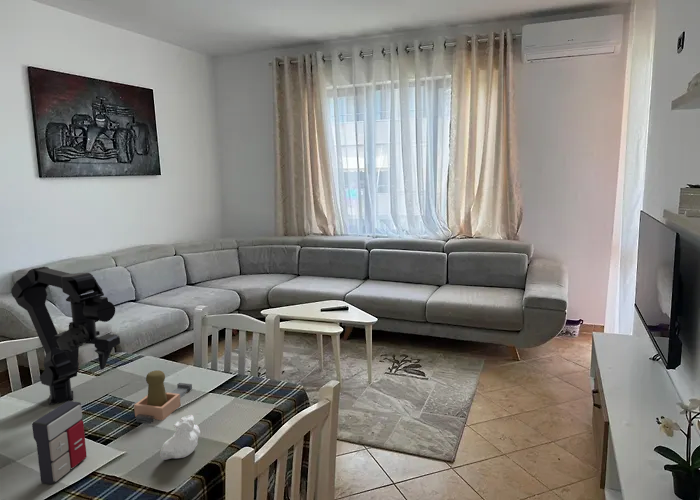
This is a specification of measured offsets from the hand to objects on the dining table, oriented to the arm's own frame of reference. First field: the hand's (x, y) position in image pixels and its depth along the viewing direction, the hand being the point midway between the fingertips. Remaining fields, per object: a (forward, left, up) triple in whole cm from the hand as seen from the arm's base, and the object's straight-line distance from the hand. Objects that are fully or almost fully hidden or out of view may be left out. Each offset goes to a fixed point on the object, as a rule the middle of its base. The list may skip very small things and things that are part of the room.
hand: (88, 367), depth 143 cm
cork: (+11, +17, -12) cm, 23 cm away
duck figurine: (+37, +19, -13) cm, 44 cm away
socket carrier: (+11, +17, -13) cm, 24 cm away
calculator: (+30, -7, -13) cm, 34 cm away
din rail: (+8, +20, -13) cm, 25 cm away
